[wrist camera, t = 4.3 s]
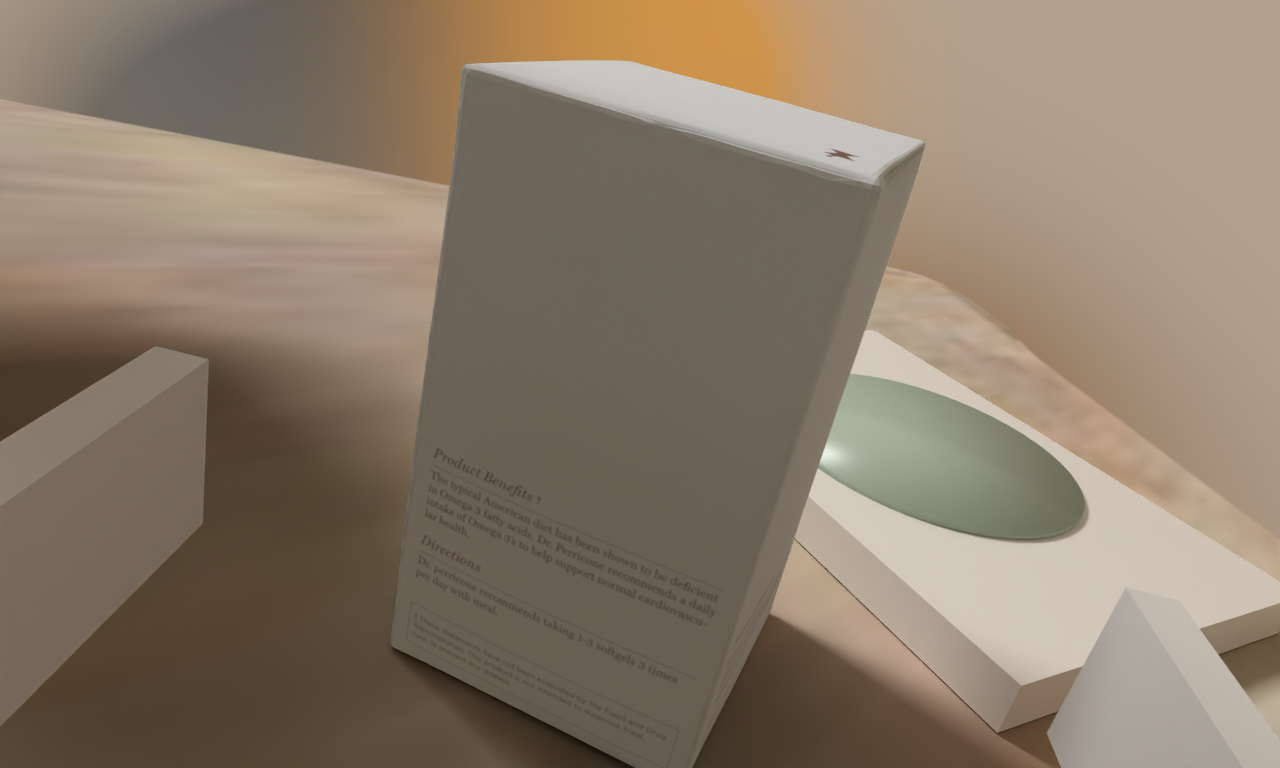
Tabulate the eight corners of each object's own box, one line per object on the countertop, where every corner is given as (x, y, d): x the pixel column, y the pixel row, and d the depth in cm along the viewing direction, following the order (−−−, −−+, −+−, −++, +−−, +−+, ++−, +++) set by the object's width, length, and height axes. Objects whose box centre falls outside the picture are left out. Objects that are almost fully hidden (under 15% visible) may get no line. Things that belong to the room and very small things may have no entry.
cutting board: (613, 364, 37) (622, 325, 36) (864, 359, 45) (875, 326, 44) (997, 732, 22) (1024, 679, 22) (1278, 632, 30) (1305, 590, 29)
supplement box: (776, 611, 25) (944, 141, 20) (678, 805, 18) (890, 178, 13) (536, 505, 27) (632, 53, 22) (373, 644, 20) (453, 48, 15)
